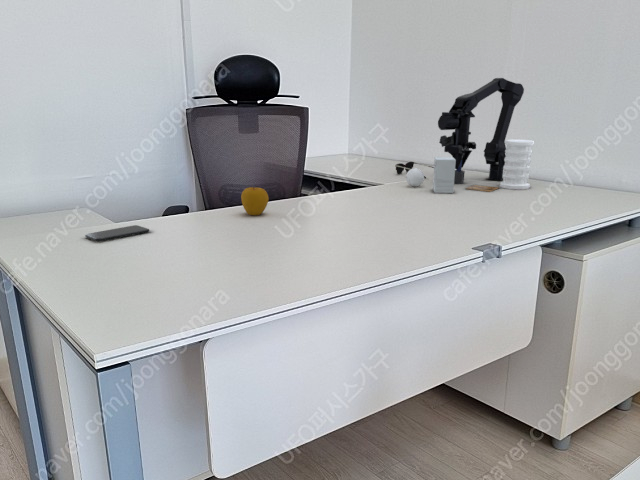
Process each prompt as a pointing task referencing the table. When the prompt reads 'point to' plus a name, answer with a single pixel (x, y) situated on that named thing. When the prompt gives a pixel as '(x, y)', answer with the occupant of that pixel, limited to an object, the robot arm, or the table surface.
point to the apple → (254, 200)
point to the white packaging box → (444, 174)
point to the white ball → (415, 177)
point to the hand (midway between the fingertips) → (458, 168)
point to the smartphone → (117, 233)
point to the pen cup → (459, 177)
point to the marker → (459, 167)
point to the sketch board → (482, 188)
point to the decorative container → (517, 164)
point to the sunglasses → (406, 167)
